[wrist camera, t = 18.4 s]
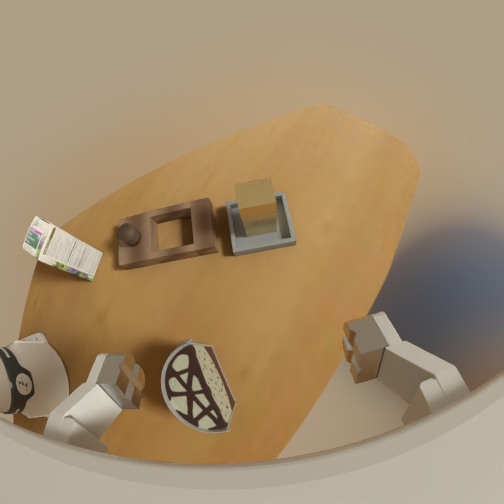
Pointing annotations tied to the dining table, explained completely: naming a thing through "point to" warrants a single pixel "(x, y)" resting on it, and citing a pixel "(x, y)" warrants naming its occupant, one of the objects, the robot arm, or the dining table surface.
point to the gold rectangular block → (257, 206)
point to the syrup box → (61, 249)
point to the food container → (197, 388)
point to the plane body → (146, 238)
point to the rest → (264, 241)
